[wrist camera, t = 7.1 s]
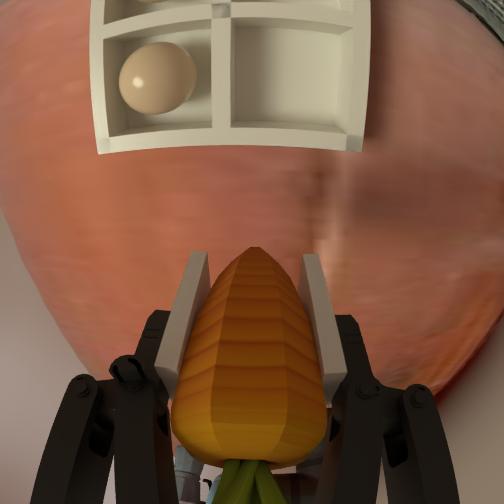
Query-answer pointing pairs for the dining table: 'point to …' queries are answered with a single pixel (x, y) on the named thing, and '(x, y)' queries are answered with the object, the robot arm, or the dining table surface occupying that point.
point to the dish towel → (488, 14)
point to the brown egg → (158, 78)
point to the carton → (238, 72)
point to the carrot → (250, 382)
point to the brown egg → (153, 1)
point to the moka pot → (188, 477)
